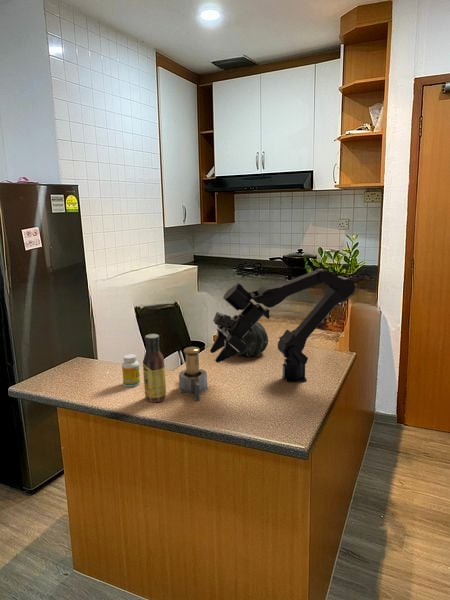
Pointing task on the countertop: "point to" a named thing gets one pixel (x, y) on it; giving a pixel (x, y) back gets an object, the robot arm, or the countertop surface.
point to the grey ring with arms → (193, 383)
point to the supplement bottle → (130, 371)
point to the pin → (192, 361)
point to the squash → (256, 340)
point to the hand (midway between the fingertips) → (213, 356)
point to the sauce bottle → (154, 370)
